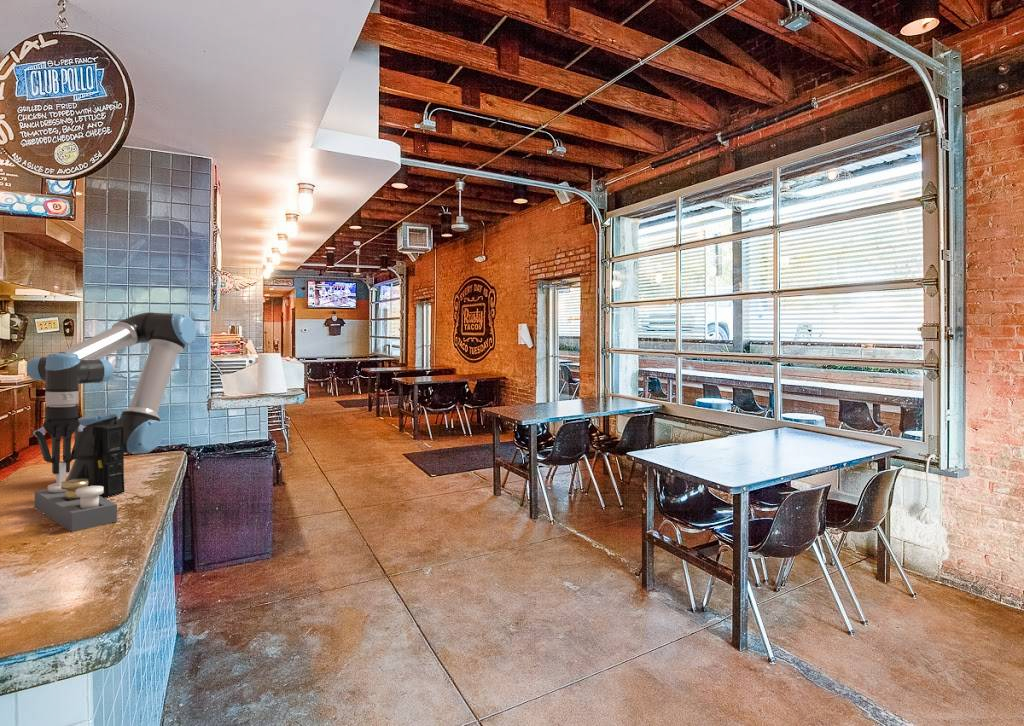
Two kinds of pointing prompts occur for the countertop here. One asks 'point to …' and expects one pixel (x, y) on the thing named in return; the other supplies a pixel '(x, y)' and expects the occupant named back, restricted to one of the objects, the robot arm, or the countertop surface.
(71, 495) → the brass knob
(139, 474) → the countertop surface
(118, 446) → the portable radio
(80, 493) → the knob far
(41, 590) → the countertop surface
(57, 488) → the knob near arm
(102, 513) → the console
